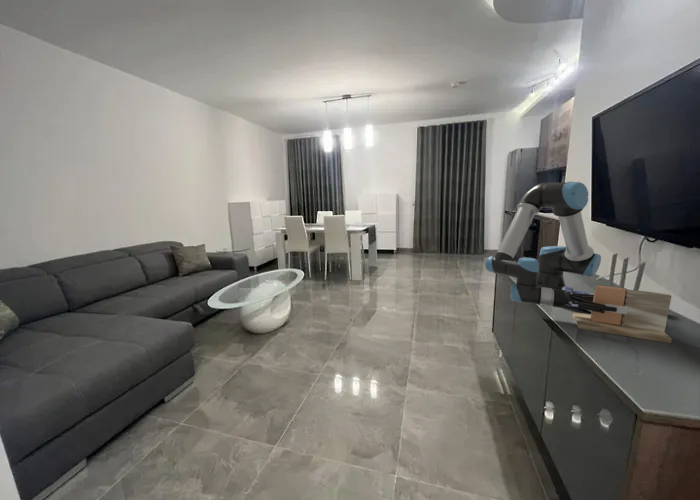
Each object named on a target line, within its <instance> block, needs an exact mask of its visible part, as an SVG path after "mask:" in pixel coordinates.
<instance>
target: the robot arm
mask: <svg viewBox="0 0 700 500" xmlns="http://www.w3.org/2000/svg"><path fill="white" fill-rule="evenodd" d="M588 202H589V191H588V187H587V186H586V185H585V184H584V183H583V182H580V181H566V182H542V183H538V184H536V185H534V186H532V187H531V188H530V189H529V190H528V191H527V192H525V193H524V194H523V195H522V197H521V198H520V199H519V201H518V203H517V205H516V208H517V210H516V212H515V214H514V217H513V219H512V221H511V222H510V225H509V227H508V229H507V230H506V233H505V234H504V237H503V239H502V241H501V244H500V246H499V247H498V249H497V252H496V253H495V255H491V256H489V257H487V258H486V260H485V264H484V265H485V269H486V270H487V271H488V272H491V273H493V274H496V275H497V274H498V275H501V276H507V277H510V278H514V279H516V281H515V282H516V283H512V284H511V285H510V296H509V297H510V300H511V301H513V302H517V303H521V304H530V305H531V304H532V305H541V306H542V307H545V306H547V307H550V306H552V307H554V308H561V309H562V308H564V307H565V305H564V304H568V305H570V306H571V307H570V308H571V309H576V310H577V309H578V310H579V309H580V310H584V311H590V312H592V311H594V312H600V313H603V314H604V313H605V311H607V312H614V313H621V314H627V312H628V307H626V306H618V305H610V304H605V305H604V304H599V303H594V302H593V298H594V293H589V294H582V293H571V292H567V294H565V291H564V290H562V288H563V287H565V286H566V283H565V282H566V281H565V278H564V273H568V274H574V275H578V276H584V277H593V276H595V275H596V273H597V272H598V270H599V268H600V265H601V261H602V256H601V254H598V253H595V252H594V249H593V247H592V246H590V245H589V244H588V243H589V242H588V239H587V234H586V229H585V225H584V221H583V215H582V212H583V210H584V209H585V207H586V206H587V205H588ZM542 209H551V211H552V213H553V216H556V217H558V220H559V221H558V222H559V225H560V229H561V233H562V236H563V240H564V245H565V246H564V245H551V246H543V247H541V248H540V251H539V255H538V256H539V257H538V259H536V258H534V257H520V258H518V260H514V258H515V256H516V254H517V253H518V250H519V248H520V246H521V244H522V242H523V239H524V238H525V235H526V233H527V232H528V229H529V228H530V225H531V223H532V221H533V219H534V217H535V215H538V214H539V212H540V211H541V210H542Z"/></svg>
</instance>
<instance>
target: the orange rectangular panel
mask: <svg viewBox="0 0 700 500" xmlns="http://www.w3.org/2000/svg"><path fill="white" fill-rule="evenodd" d="M625 289H626V288H624V287H614V286H604V285H596V284H595V286H594V291H593V294H594V298H593V302H594V303H599V304H604V305H605V304H610V305H618V306H623V305H624V299H625V293H626V290H625ZM590 313H591V314H590V315H591V320H592V321H597V322H603V323H610V324H617V325H620V323H621V317H622V314H621V313H614V312H607V311H605V313H604V314H603V313H600V312H594V311H590Z"/></svg>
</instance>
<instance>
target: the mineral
mask: <svg viewBox="0 0 700 500" xmlns="http://www.w3.org/2000/svg"><path fill="white" fill-rule="evenodd" d="M562 290H564V291H565V294H567V292H571V293H582V294H590V293H589V292H587V291H580V290H574V287H572V286H565V287H563V288H562ZM564 307H570V308H571V306H570V305H568V304H564Z"/></svg>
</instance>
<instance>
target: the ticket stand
mask: <svg viewBox="0 0 700 500" xmlns="http://www.w3.org/2000/svg"><path fill="white" fill-rule="evenodd" d="M624 289H625V290H626V293H625V299H624V305H623V306H626V307H628V312H627V314H622V317H621V323H620V325H617V324H610V323H603V322H597V321H592V320H591V314H590V313H589V314H588V313H582V312H572V314H571V315H572V317H573V320H574V321H575V324H576V326H577V328H578V329H579V330H580V329H582V330H586V331H591V332H592V331H593V332H598V333H599V332H601V333H604V334H605V333H606V334H612V335H618V336H625V337H630V338H635V339H637V338H638V339H641V340H643V339H644V340H649V341H655V342H662V343H669V344H672V340H673V339H672V338H671V336H669V335H668V334H667V332H665V331H666V326H667V320H668V316H669V311H670V305H671V301H672V295H671V294H670V293H665V292H656V291H655V292H654V291H647V290H646V291H645V290H644V291H643V290H636V289H626V288H624Z"/></svg>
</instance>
